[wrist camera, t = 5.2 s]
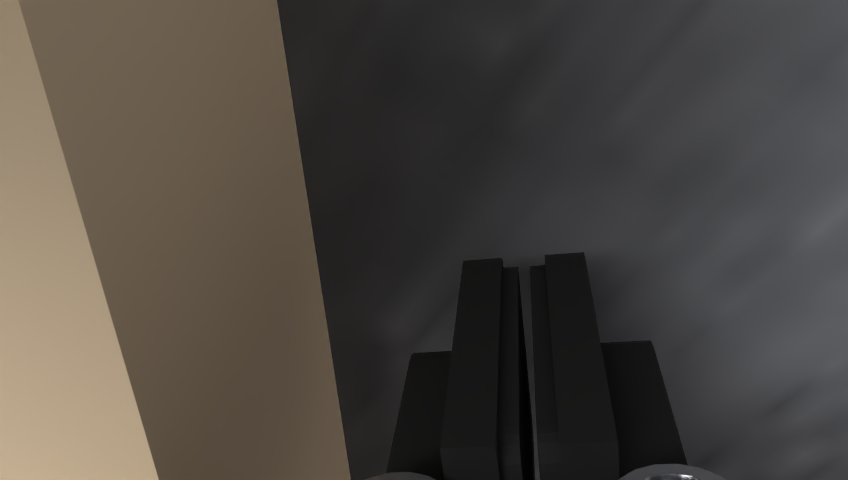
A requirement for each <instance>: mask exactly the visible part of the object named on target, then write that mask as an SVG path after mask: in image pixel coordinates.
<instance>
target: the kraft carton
mask: <svg viewBox="0 0 848 480" xmlns="http://www.w3.org/2000/svg"><path fill="white" fill-rule="evenodd" d="M0 480H351V477H350V471H349V464H348V458H347V451H346V445H345V438H344V432H343V425H342V419H341V412H340V406H339V399H338V393H337V386H336V380H335V374H334V367H333V361H332V354H331V348H330V341H329V335H328V328H327V322H326V315H325V309H324V302H323V296H322V289H321V283H320V276H319V270H318V263H317V257H316V251H315V244H314V238H313V231H312V225H311V218H310V212H309V205H308V199H307V192H306V186H305V179H304V173H303V166H302V160H301V153H300V147H299V140H298V134H297V127H296V121H295V115H294V108H293V102H292V95H291V89H290V82H289V76H288V69H287V63H286V56H285V50H284V43H283V37H282V30H281V24H280V17H279V11H278V4H277V0H0Z"/></svg>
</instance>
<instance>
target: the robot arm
mask: <svg viewBox="0 0 848 480" xmlns="http://www.w3.org/2000/svg"><path fill="white" fill-rule="evenodd" d="M530 278H531V302H532V327H533V351H534V375H535V400H536V424H537V443H538V457H539V470H540V480H726V479H725V478H723V477H722V476H720V475H717V474H715V473H712V472H710V471H707V470H705V469H702V468H699V467H693V466H688V465H687V461H686V458H685V455H684V451H683V448H682V444H681V441H680V437H679V434H678V430H677V427H676V423H675V420H674V416H673V413H672V409H671V406H670V403H669V399H668V396H667V392H666V389H665V385H664V382H663V378H662V375H661V371H660V368H659V364H658V361H657V357H656V354H655V351H654V347H653V345H652V342H651V341H630V342H611V343H600V339H599V333H598V327H597V322H596V316H595V311H594V305H593V300H592V294H591V289H590V283H589V278H588V272H587V267H586V261H585V255H584V252H582V253H567V254H553V255H545V265H541V266H530ZM366 480H535V469H534V442H533V427H532V415H531V404H530V393H529V382H528V371H527V360H526V349H525V338H524V327H523V316H522V305H521V294H520V283H519V273H518V267H512V268H504V267H503V261H502V258H497V259H483V260H468V261H463V267H462V275H461V283H460V291H459V299H458V307H457V315H456V323H455V331H454V339H453V347H452V351H443V352H425V353H414V354H412V356H411V359H410V362H409V367H408V372H407V376H406V381H405V386H404V391H403V396H402V401H401V405H400V410H399V415H398V420H397V425H396V429H395V434H394V439H393V444H392V449H391V454H390V458H389V463H388V468H387V473H386V474H382V475H378V476H374V477H370V478H368V479H366Z"/></svg>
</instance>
